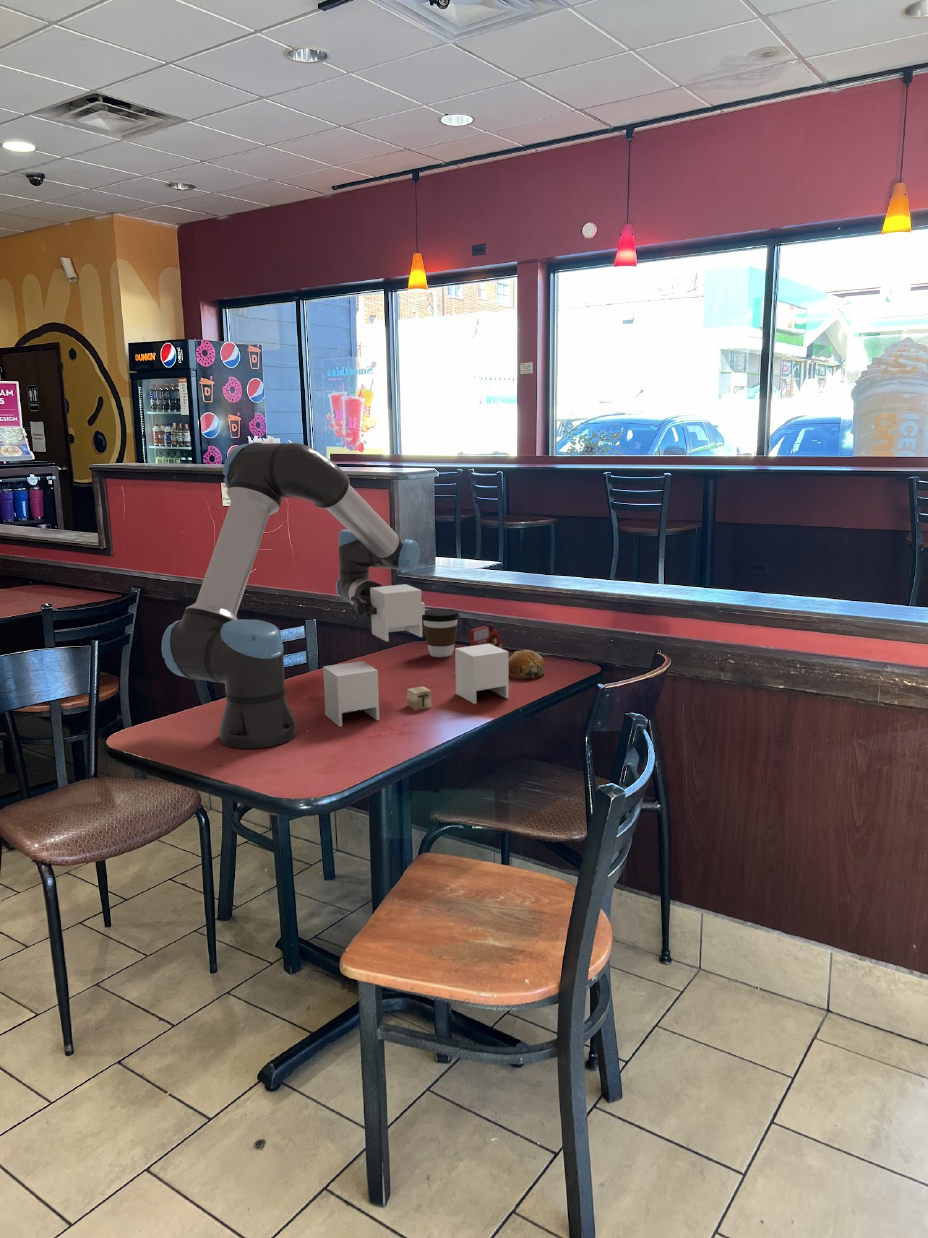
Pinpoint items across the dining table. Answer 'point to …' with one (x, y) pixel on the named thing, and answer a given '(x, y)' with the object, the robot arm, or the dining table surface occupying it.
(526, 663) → the bread roll
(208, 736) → the dining table surface
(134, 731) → the dining table surface
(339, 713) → the matte white cube
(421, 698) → the letter cube
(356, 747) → the dining table surface
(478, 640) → the toy fire truck
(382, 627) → the tall off-white cuboid
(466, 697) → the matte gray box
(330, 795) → the dining table surface
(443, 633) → the coffee cup
